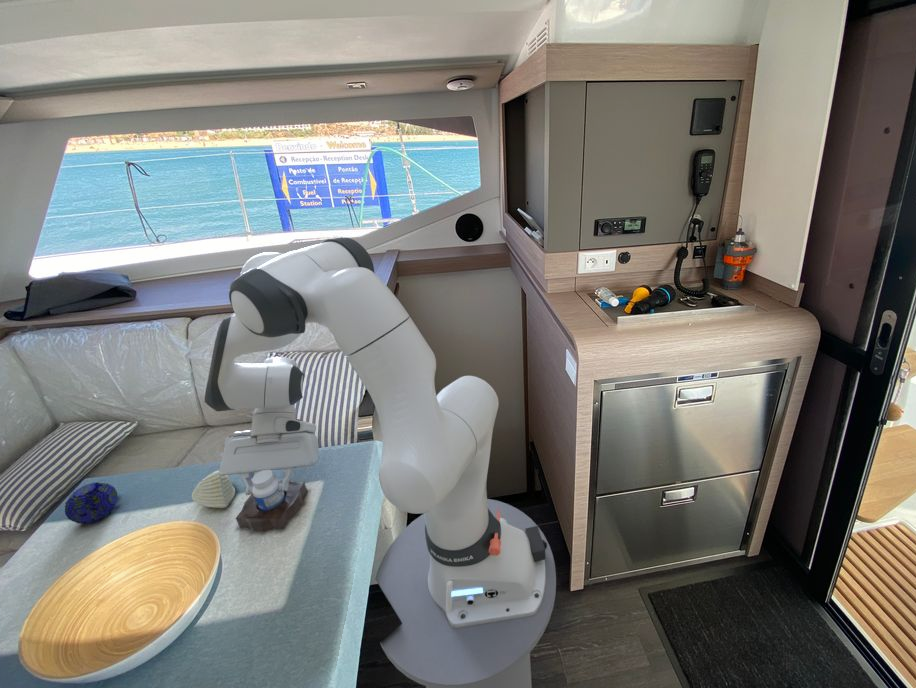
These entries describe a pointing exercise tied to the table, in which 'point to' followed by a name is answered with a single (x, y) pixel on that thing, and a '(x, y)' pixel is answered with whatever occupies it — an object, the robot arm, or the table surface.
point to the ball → (91, 502)
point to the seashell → (214, 491)
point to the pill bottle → (267, 490)
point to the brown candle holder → (272, 510)
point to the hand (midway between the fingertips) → (266, 492)
